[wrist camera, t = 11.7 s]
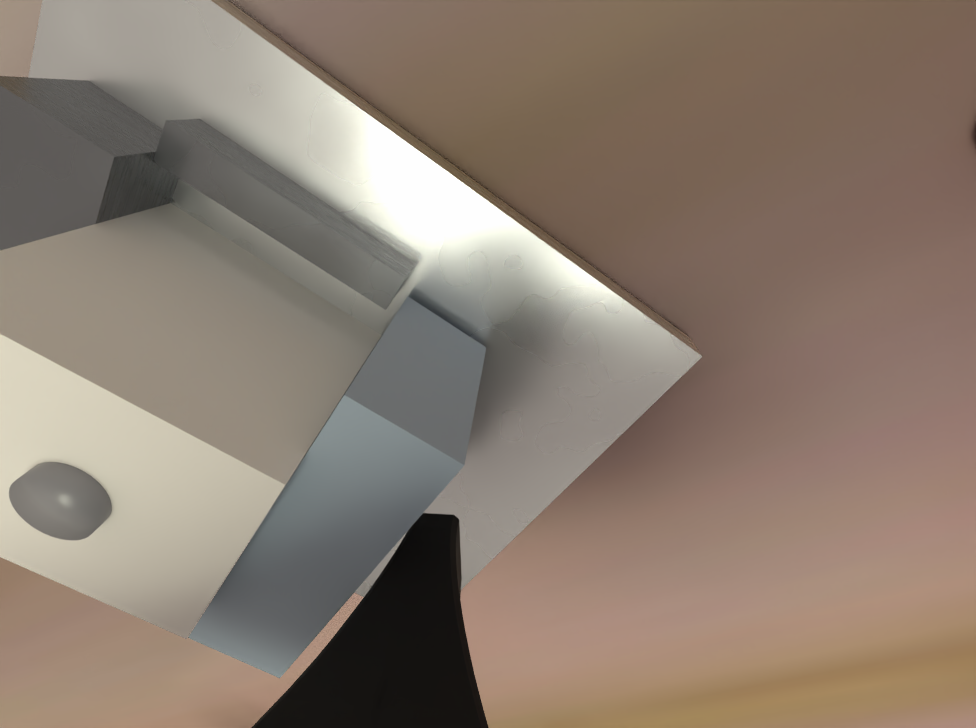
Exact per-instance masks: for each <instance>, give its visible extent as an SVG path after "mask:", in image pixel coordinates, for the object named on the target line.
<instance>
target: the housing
mask: <svg viewBox="0 0 976 728" xmlns="http://www.w3.org/2000/svg"><path fill="white" fill-rule="evenodd" d="M381 336H382V335H381V334H379V333H378V332H376V331H374V330H373V329H371V328H370V327H368V326H366V325H365V324H363V323H362V322H360V321H358V320H357V319H355V318H354V317H352V316H350V315H349V314H347V313H346V312H344V311H342V310H341V309H339V308H338V307H336V306H334V305H333V304H331V303H330V302H328V301H326V300H325V299H323V298H322V297H320V296H318V295H317V294H315V293H314V292H312V291H310V290H309V289H307V288H306V287H304V286H302V285H301V284H299V283H298V282H296V281H294V280H293V279H291V278H290V277H288V276H286V275H285V274H283V273H282V272H280V271H278V270H277V269H275V268H274V267H272V266H270V265H269V264H267V263H266V262H264V261H262V260H261V259H259V258H258V257H256V256H254V255H253V254H251V253H250V252H248V251H246V250H245V249H243V248H242V247H240V246H238V245H237V244H235V243H234V242H232V241H230V240H229V239H227V238H226V237H224V236H222V235H221V234H219V233H218V232H216V231H214V230H213V229H211V228H210V227H208V226H206V225H205V224H203V223H202V222H200V221H198V220H197V219H195V218H194V217H192V216H190V215H189V214H187V213H186V212H184V211H182V210H181V209H179V208H178V207H176V206H174V205H173V204H171V203H169V204H166V205H162V206H158V207H155V208H151V209H148V210H144V211H141V212H137V213H133V214H130V215H126V216H123V217H119V218H115V219H112V220H108V221H105V222H101V223H97V224H94V225H90V226H87V227H83V228H79V229H76V230H72V231H69V232H65V233H62V234H58V235H54V236H51V237H47V238H44V239H40V240H36V241H33V242H29V243H26V244H22V245H18V246H15V247H11V248H8V249H4V250H1V251H0V557H2V558H4V559H6V560H8V561H11V562H13V563H15V564H17V565H20V566H22V567H24V568H26V569H29V570H31V571H33V572H36V573H38V574H40V575H42V576H45V577H47V578H49V579H51V580H54V581H56V582H58V583H60V584H63V585H65V586H67V587H70V588H72V589H74V590H76V591H79V592H81V593H83V594H85V595H88V596H90V597H92V598H94V599H97V600H99V601H101V602H104V603H106V604H108V605H110V606H113V607H115V608H117V609H119V610H122V611H124V612H126V613H128V614H131V615H133V616H135V617H138V618H140V619H142V620H144V621H147V622H149V623H151V624H153V625H156V626H158V627H160V628H162V629H165V630H167V631H169V632H172V633H174V634H176V635H178V636H181V637H183V638H185V639H187V637H188V636H189V634H190V632H191V631H192V629H193V628H194V626H195V625H196V623H197V622H198V620H199V618H200V617H201V615H202V614H203V612H204V611H205V609H206V608H207V606H208V605H209V603H210V601H211V600H212V598H213V597H214V595H215V594H216V592H217V591H218V589H219V587H220V586H221V584H222V583H223V581H224V580H225V578H226V577H227V575H228V573H229V572H230V570H231V569H232V567H233V566H234V564H235V563H236V561H237V559H238V558H239V556H240V555H241V553H242V552H243V550H244V549H245V547H246V546H247V544H248V542H249V541H250V539H251V538H252V536H253V535H254V533H255V532H256V530H257V528H258V527H259V525H260V524H261V522H262V521H263V519H264V518H265V516H266V514H267V513H268V511H269V510H270V508H271V507H272V505H273V504H274V502H275V501H276V499H277V497H278V496H279V494H280V493H281V491H282V490H283V488H284V487H285V485H286V483H287V482H288V480H289V479H290V477H291V476H292V474H293V473H294V471H295V469H296V468H297V466H298V465H299V463H300V462H301V460H302V459H303V457H304V455H305V454H306V452H307V451H308V449H309V448H310V446H311V445H312V443H313V441H314V440H315V438H316V437H317V435H318V434H319V432H320V431H321V429H322V428H323V426H324V424H325V423H326V421H327V420H328V418H329V417H330V415H331V414H332V412H333V410H334V409H335V407H336V406H337V404H338V403H339V401H340V400H341V398H342V396H343V395H344V393H345V392H346V390H347V389H348V387H349V386H350V384H351V382H352V381H353V379H354V378H355V376H356V375H357V373H358V372H359V370H360V368H361V367H362V365H363V364H364V362H365V361H366V359H367V358H368V356H369V354H370V353H371V351H372V350H373V348H374V347H375V345H376V344H377V342H378V340H379V339H380V337H381Z"/></svg>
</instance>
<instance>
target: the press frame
mask: <svg viewBox="0 0 976 728" xmlns="http://www.w3.org/2000/svg"><path fill="white" fill-rule="evenodd" d="M169 203H171V204H173V205H174V206H176V207H178V208H179V209H181V210H182V211H184V212H186V213H187V214H189V215H190V216H192V217H194V218H195V219H197V220H198V221H200V222H202V223H203V224H205V225H206V226H208V227H210V228H211V229H213V230H214V231H216V232H218V233H219V234H221V235H222V236H224V237H226V238H227V239H229V240H230V241H232V242H234V243H235V244H237V245H238V246H240V247H242V248H243V249H245V250H246V251H248V252H250V253H251V254H253V255H254V256H256V257H258V258H259V259H261V260H262V261H264V262H266V263H267V264H269V265H270V266H272V267H274V268H275V269H277V270H278V271H280V272H282V273H283V274H285V275H286V276H288V277H290V278H291V279H293V280H294V281H296V282H298V283H299V284H301V285H302V286H304V287H306V288H307V289H309V290H310V291H312V292H314V293H315V294H317V295H318V296H320V297H322V298H323V299H325V300H326V301H328V302H330V303H331V304H333V305H334V306H336V307H338V308H339V309H341V310H342V311H344V312H346V313H347V314H349V315H350V316H352V317H354V318H355V319H357V320H358V321H360V322H362V323H363V324H365V325H366V326H368V327H370V328H371V329H373V330H374V331H376V332H378V333H379V334H381V335H383V334H384V332H385V331H386V329H387V327H388V326H389V324H390V323H391V321H392V320H393V318H394V317H395V315H396V314H397V312H398V310H399V309H400V307H401V306H402V304H403V303H404V301H405V300H406V298H407V296H408V297H410V298H411V299H413V300H414V301H416V302H417V303H419V304H420V305H422V306H423V307H425V308H426V309H428V310H430V311H431V312H433V313H434V314H436V315H437V316H439V317H440V318H442V319H443V320H445V321H446V322H448V323H450V324H451V325H453V326H454V327H456V328H457V329H459V330H460V331H462V332H463V333H465V334H466V335H468V336H469V337H471V338H473V339H474V340H476V341H477V342H479V343H480V344H482V345H483V346H485V347H486V352H485V357H484V363H483V368H482V374H481V379H480V384H479V390H478V395H477V400H476V406H475V411H474V416H473V422H472V427H471V433H470V438H469V443H468V449H467V454H466V459H465V465H464V466H463V467H462V469H461V470H460V471H459V472H458V473H457V474H456V476H455V477H454V478H453V479H452V480H451V481H450V482H449V484H448V485H447V486H446V487H445V488H444V489H443V491H442V492H441V493H440V494H439V495H438V496H437V497H436V499H435V500H434V501H433V502H432V503H431V504H430V506H429V507H428V508H427V509H426V510H425V511H424V512H423V513H432V514H451V515H455V516H456V517H457V518H458V519H459V526H460V550H461V575H462V580H461V589H462V588H463V587H464V586H465V585H466V584H467V583H469V582H470V581H471V580H472V579H473V578H474V577H475V576H476V575H477V574H478V573H479V572H480V571H481V570H482V569H483V568H484V567H485V566H486V565H487V564H488V563H489V562H490V561H491V560H492V559H493V558H494V557H495V556H496V555H498V554H499V553H500V552H501V551H502V550H503V549H504V548H505V547H506V546H507V545H508V544H509V543H510V542H511V541H512V540H513V539H514V538H515V537H516V536H517V535H518V534H519V533H520V532H521V531H522V530H523V529H524V528H525V527H526V526H528V525H529V524H530V523H531V522H532V521H533V520H534V519H535V518H536V517H537V516H538V515H539V514H540V513H541V512H542V511H543V510H544V509H545V508H546V507H547V506H548V505H549V504H550V503H551V502H552V501H553V500H554V499H555V498H557V497H558V496H559V495H560V494H561V493H562V492H563V491H564V490H565V489H566V488H567V487H568V486H569V485H570V484H571V483H572V482H573V481H574V480H575V479H576V478H577V477H578V476H579V475H580V474H581V473H582V472H583V471H584V470H586V469H587V468H588V467H589V466H590V465H591V464H592V463H593V462H594V461H595V460H596V459H597V458H598V457H599V456H600V455H601V454H602V453H603V452H604V451H605V450H606V449H607V448H608V447H609V446H610V445H611V444H612V443H613V442H614V441H616V440H617V439H618V438H619V437H620V436H621V435H622V434H623V433H624V432H625V431H626V430H627V429H628V428H629V427H630V426H631V425H632V424H633V423H634V422H635V421H636V420H637V419H638V418H639V417H640V416H641V415H642V414H643V413H645V412H646V411H647V410H648V409H649V408H650V407H651V406H652V405H653V404H654V403H655V402H656V401H657V400H658V399H659V398H660V397H661V396H662V395H663V394H664V393H665V392H666V391H667V390H668V389H669V388H670V387H671V386H672V385H674V384H675V383H676V382H677V381H678V380H679V379H680V378H681V377H682V376H683V375H684V374H685V373H686V372H687V371H688V370H689V369H690V368H691V367H692V366H693V365H694V364H695V363H696V362H697V361H698V360H699V359H700V358H701V357H702V355H701V354H700V352H699V351H698V349H697V348H696V346H695V345H694V343H693V342H692V340H691V339H690V337H688V336H687V335H686V334H684V333H683V332H681V331H680V330H679V329H677V328H676V327H675V326H673V325H672V324H671V323H669V322H668V321H666V320H665V319H664V318H662V317H661V316H660V315H658V314H657V313H655V312H654V311H653V310H651V309H650V308H649V307H647V306H646V305H644V304H643V303H642V302H640V301H639V300H638V299H636V298H635V297H634V296H632V295H631V294H629V293H628V292H627V291H625V290H624V289H623V288H621V287H620V286H618V285H617V284H616V283H614V282H613V281H612V280H610V279H609V278H608V277H606V276H605V275H603V274H602V273H601V272H599V271H598V270H597V269H595V268H594V267H592V266H591V265H590V264H588V263H587V262H586V261H584V260H583V259H581V258H580V257H579V256H577V255H576V254H575V253H573V252H572V251H571V250H569V249H568V248H566V247H565V246H564V245H562V244H561V243H560V242H558V241H557V240H555V239H554V238H553V237H551V236H550V235H549V234H547V233H546V232H544V231H543V230H542V229H540V228H539V227H538V226H536V225H535V224H534V223H532V222H531V221H529V220H528V219H527V218H525V217H524V216H523V215H521V214H520V213H518V212H517V211H516V210H514V209H513V208H512V207H510V206H509V205H507V204H506V203H505V202H503V201H502V200H501V199H499V198H498V197H497V196H495V195H494V194H492V193H491V192H490V191H488V190H487V189H486V188H484V187H483V186H481V185H480V184H479V183H477V182H476V181H475V180H473V179H472V178H471V177H469V176H468V175H466V174H465V173H464V172H462V171H461V170H460V169H458V168H457V167H455V166H454V165H453V164H451V163H450V162H449V161H447V160H446V159H444V158H443V157H442V156H440V155H439V154H438V153H436V152H435V151H434V150H432V149H431V148H429V147H428V146H427V145H425V144H424V143H423V142H421V141H420V140H418V139H417V138H416V137H414V136H413V135H412V134H410V133H409V132H407V131H406V130H405V129H403V128H402V127H401V126H399V125H398V124H397V123H395V122H394V121H392V120H391V119H390V118H388V117H387V116H386V115H384V114H383V113H381V112H380V111H379V110H377V109H376V108H375V107H373V106H372V105H370V104H369V103H368V102H366V101H365V100H364V99H362V98H361V97H360V96H358V95H357V94H355V93H354V92H353V91H351V90H350V89H349V88H347V87H346V86H344V85H343V84H342V83H340V82H339V81H338V80H336V79H335V78H334V77H332V76H331V75H329V74H328V73H327V72H325V71H324V70H323V69H321V68H320V67H318V66H317V65H316V64H314V63H313V62H312V61H310V60H309V59H307V58H306V57H305V56H303V55H302V54H301V53H299V52H298V51H297V50H295V49H294V48H292V47H291V46H290V45H288V44H287V43H286V42H284V41H283V40H281V39H280V38H279V37H277V36H276V35H275V34H273V33H272V32H270V31H269V30H268V29H266V28H265V27H264V26H262V25H261V24H260V23H258V22H257V21H255V20H254V19H253V18H251V17H250V16H249V15H247V14H246V13H244V12H243V11H242V10H240V9H239V8H238V7H236V6H235V5H233V4H232V3H231V2H229V1H228V0H43V1H42V6H41V12H40V17H39V22H38V28H37V33H36V39H35V44H34V49H33V55H32V60H31V66H30V71H29V77H28V78H26V77H6V76H0V251H1V250H4V249H8V248H11V247H15V246H18V245H22V244H26V243H29V242H33V241H36V240H40V239H44V238H47V237H51V236H54V235H58V234H62V233H65V232H69V231H72V230H76V229H79V228H83V227H87V226H90V225H94V224H97V223H101V222H105V221H108V220H112V219H115V218H119V217H123V216H126V215H130V214H133V213H137V212H141V211H144V210H148V209H151V208H155V207H158V206H162V205H166V204H169ZM381 337H382V336H381ZM381 337H380V338H381ZM379 340H380V339H379ZM379 340H378V341H379ZM377 343H378V342H377ZM376 345H377V344H376ZM376 345H375V346H376ZM374 348H375V347H374ZM374 348H373V349H374ZM372 351H373V350H372ZM372 351H371V352H372ZM370 354H371V353H370ZM370 354H369V355H370ZM368 357H369V356H368ZM367 359H368V358H367ZM367 359H366V360H367ZM365 362H366V361H365ZM365 362H364V363H365ZM363 365H364V364H363ZM363 365H362V366H363ZM361 368H362V367H361ZM361 368H360V369H361ZM359 371H360V370H359ZM358 373H359V372H358ZM358 373H357V374H358ZM356 376H357V375H356ZM356 376H355V377H356ZM354 379H355V378H354ZM354 379H353V380H354ZM352 382H353V381H352ZM352 382H351V383H352ZM350 385H351V384H350ZM348 388H349V387H348ZM347 390H348V389H347ZM347 390H346V391H347ZM345 393H346V392H345ZM345 393H344V394H345ZM343 396H344V395H343ZM343 396H342V397H343ZM341 399H342V398H341ZM339 402H340V401H339ZM338 404H339V403H338ZM338 404H337V405H338ZM336 407H337V406H336ZM336 407H335V408H336ZM334 410H335V409H334ZM334 410H333V411H334ZM332 413H333V412H332ZM330 416H331V415H330ZM329 418H330V417H329ZM329 418H328V419H329ZM327 421H328V420H327ZM327 421H326V422H327ZM325 424H326V423H325ZM325 424H324V425H325ZM323 427H324V426H323ZM321 430H322V429H321ZM320 432H321V431H320ZM320 432H319V433H320ZM318 435H319V434H318ZM318 435H317V436H318ZM316 438H317V437H316ZM316 438H315V439H316ZM314 441H315V440H314ZM314 441H313V442H314ZM312 444H313V443H312ZM310 447H311V446H310ZM309 449H310V448H309ZM309 449H308V450H309ZM307 452H308V451H307ZM307 452H306V453H307ZM305 455H306V454H305ZM305 455H304V456H305ZM303 458H304V457H303ZM301 461H302V460H301ZM300 463H301V462H300ZM300 463H299V464H300ZM298 466H299V465H298ZM298 466H297V467H298ZM296 469H297V468H296ZM296 469H295V470H296ZM294 472H295V471H294ZM292 475H293V474H292ZM291 477H292V476H291ZM291 477H290V478H291ZM289 480H290V479H289ZM289 480H288V481H289ZM287 483H288V482H287ZM287 483H286V484H287ZM285 486H286V485H285ZM283 489H284V488H283ZM281 492H282V491H281ZM280 494H281V493H280ZM280 494H279V495H280ZM278 497H279V496H278ZM278 497H277V498H278ZM276 500H277V499H276ZM274 503H275V502H274ZM272 506H273V505H272ZM271 508H272V507H271ZM271 508H270V509H271ZM269 511H270V510H269ZM269 511H268V512H269ZM267 514H268V513H267ZM267 514H266V515H267ZM265 517H266V516H265ZM263 520H264V519H263ZM262 522H263V521H262ZM262 522H261V523H262ZM260 525H261V524H260ZM260 525H259V526H260ZM258 528H259V527H258ZM258 528H257V529H258ZM256 531H257V530H256ZM406 533H407V532H406ZM406 533H405V534H404V536H403V537H402V538H401V539H400V540H399V541H398V542H397V544H396V545H395V546H394V547H393V548H392V549H391V551H390V552H389V553H388V554H387V555H386V556H385V557H384V559H383V560H382V561H381V562H380V563H379V564H378V566H377V567H376V568H375V569H374V570H373V571H372V572H371V574H370V575H369V576H368V577H367V578H366V579H365V581H364V582H363V583H362V584H361V585H360V586H359V587H358V589H357V590H356V591H355V593H357V594H359V595H361V596H363V597H365V595H366V594H367V592H368V591H369V590H370V588H371V587H372V585H373V584H374V582H375V581H376V580H377V578H378V577H379V575H380V574H381V572H382V571H383V570H384V568H385V567H386V565H387V564H388V562H389V560H390V559H391V557H392V556H393V554H394V553H395V551H396V550H397V548H398V546H399V545H400V543H401V542H402V540H403V538H404V537H405V535H406ZM254 534H255V533H254ZM253 536H254V535H253ZM253 536H252V537H253ZM251 539H252V538H251ZM251 539H250V540H251Z"/></svg>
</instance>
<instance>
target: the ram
mask: <svg viewBox="0 0 976 728" xmlns="http://www.w3.org/2000/svg"><path fill="white" fill-rule="evenodd" d="M485 352H486V347H485V346H483V345H482V344H480V343H479V342H477V341H476V340H474V339H473V338H471V337H469V336H468V335H466V334H465V333H463V332H462V331H460V330H459V329H457V328H456V327H454V326H453V325H451V324H450V323H448V322H446V321H445V320H443V319H442V318H440V317H439V316H437V315H436V314H434V313H433V312H431V311H430V310H428V309H426V308H425V307H423V306H422V305H420V304H419V303H417V302H416V301H414V300H413V299H411V298H410V297H408V296H407V298H406V300H405V301H404V303H403V304H402V306H401V307H400V309H399V310H398V312H397V314H396V315H395V317H394V318H393V320H392V321H391V323H390V324H389V326H388V327H387V329H386V331H385V332H384V334H383V335H382V337H381V338H380V340H379V341H378V343H377V345H376V346H375V348H374V349H373V351H372V352H371V354H370V355H369V357H368V359H367V360H366V362H365V363H364V365H363V366H362V368H361V369H360V371H359V373H358V374H357V376H356V377H355V379H354V380H353V382H352V383H351V385H350V386H349V388H348V390H347V391H346V393H345V394H344V396H343V397H342V399H341V400H340V402H339V404H338V405H337V407H336V408H335V410H334V411H333V413H332V414H331V416H330V418H329V419H328V421H327V422H326V424H325V425H324V427H323V428H322V430H321V432H320V433H319V435H318V436H317V438H316V439H315V441H314V442H313V444H312V445H311V447H310V449H309V450H308V452H307V453H306V455H305V456H304V458H303V459H302V461H301V463H300V464H299V466H298V467H297V469H296V470H295V472H294V473H293V475H292V477H291V478H290V480H289V481H288V483H287V484H286V486H285V487H284V489H283V490H282V492H281V494H280V495H279V497H278V498H277V500H276V501H275V503H274V504H273V506H272V508H271V509H270V511H269V512H268V514H267V515H266V517H265V518H264V520H263V522H262V523H261V525H260V526H259V528H258V529H257V531H256V532H255V534H254V536H253V537H252V539H251V540H250V542H249V543H248V545H247V546H246V548H245V550H244V551H243V553H242V554H241V556H240V557H239V559H238V560H237V562H236V564H235V565H234V567H233V568H232V570H231V571H230V573H229V574H228V576H227V578H226V579H225V581H224V582H223V584H222V585H221V587H220V588H219V590H218V592H217V593H216V595H215V596H214V598H213V599H212V601H211V602H210V604H209V606H208V607H207V609H206V610H205V612H204V613H203V615H202V617H201V618H200V620H199V621H198V623H197V624H196V626H195V627H194V629H193V631H192V632H191V634H190V635H189V637H188V638H190V639H192V640H194V641H197V642H199V643H201V644H203V645H206V646H208V647H210V648H213V649H215V650H217V651H219V652H222V653H224V654H226V655H228V656H231V657H233V658H235V659H237V660H240V661H242V662H244V663H246V664H249V665H251V666H253V667H256V668H258V669H260V670H262V671H265V672H267V673H269V674H271V675H274V676H276V677H278V678H280V677H281V676H282V675H283V674H284V673H285V672H286V671H287V669H288V668H289V667H290V666H291V665H292V664H293V662H294V661H295V660H296V659H297V658H298V657H299V656H300V654H301V653H302V652H303V651H304V650H305V649H306V647H307V646H308V645H309V644H310V643H311V642H312V641H313V639H314V638H315V637H316V636H317V635H318V634H319V632H320V631H321V630H322V629H323V628H324V627H325V626H326V624H327V623H328V622H329V621H330V620H331V619H332V617H333V616H334V615H335V614H336V613H337V612H338V611H339V609H340V608H341V607H342V606H343V605H344V604H345V602H346V601H347V600H348V599H349V598H350V597H351V596H352V594H353V593H354V592H355V591H356V590H357V589H358V587H359V586H360V585H361V584H362V583H363V582H364V581H365V579H366V578H367V577H368V576H369V575H370V574H371V572H372V571H373V570H374V569H375V568H376V567H377V566H378V564H379V563H380V562H381V561H382V560H383V559H384V557H385V556H386V555H387V554H388V553H389V552H390V551H391V549H392V548H393V547H394V546H395V545H396V544H397V542H398V541H399V540H400V539H401V538H402V537H403V536H404V534H405V533H406V532H407V531H408V530H409V529H410V527H411V526H412V525H413V524H414V523H415V522H416V521H417V519H418V518H419V517H420V516H421V515H422V514H423V512H424V511H425V510H426V509H427V508H428V507H429V506H430V504H431V503H432V502H433V501H434V500H435V499H436V497H437V496H438V495H439V494H440V493H441V492H442V491H443V489H444V488H445V487H446V486H447V485H448V484H449V482H450V481H451V480H452V479H453V478H454V477H455V476H456V474H457V473H458V472H459V471H460V470H461V469H462V467H463V466H464V465H465V459H466V454H467V449H468V443H469V438H470V433H471V427H472V422H473V416H474V411H475V406H476V400H477V395H478V390H479V384H480V379H481V374H482V368H483V363H484V357H485Z"/></svg>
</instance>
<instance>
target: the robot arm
mask: <svg viewBox="0 0 976 728" xmlns="http://www.w3.org/2000/svg"><path fill="white" fill-rule="evenodd" d="M461 580H462V575H461V550H460V526H459V519H458V518H457V517H456V516H455V515H451V514H432V513H423V514H422V515H421V516H420V517H419V518H418V519H417V521H416V522H415V523H414V524H413V525H412V526H411V527H410V529H409V530H408V531H407V533H406V535H405V537H404V538H403V540H402V542H401V543H400V545H399V546H398V548H397V550H396V551H395V553H394V554H393V556H392V557H391V559H390V560H389V562H388V564H387V565H386V567H385V568H384V570H383V571H382V572H381V574H380V575H379V577H378V578H377V580H376V581H375V582H374V584H373V585H372V587H371V588H370V590H369V591H368V592H367V594H366V595H365V597H364V598H363V599H362V601H361V602H360V604H359V605H358V606H357V607H356V609H355V610H354V611H353V613H352V614H351V615H350V616H349V618H348V619H347V620H346V622H345V623H344V624H343V625H342V627H341V628H340V629H339V631H338V632H337V633H336V634H335V636H334V637H333V638H332V640H331V641H330V642H329V643H328V644H327V646H326V647H325V648H324V649H323V650H322V652H321V653H320V654H319V655H318V656H317V657H316V659H315V660H314V661H313V662H312V663H311V664H310V666H309V667H308V668H307V669H306V670H305V671H304V672H303V673H302V675H301V676H300V677H299V678H298V679H297V680H296V681H295V682H294V684H293V685H292V686H291V687H290V688H289V689H288V690H287V691H286V692H285V693H284V694H283V695H282V696H281V697H280V699H279V700H278V701H277V702H276V703H275V704H274V705H273V706H272V707H271V708H270V709H269V710H268V711H267V712H266V713H265V714H264V715H263V716H262V717H261V718H260V719H259V720H258V721H257V723H256V724H255V725H254V726H253V727H252V728H488V725H487V721H486V717H485V714H484V710H483V707H482V703H481V699H480V695H479V691H478V687H477V683H476V679H475V675H474V671H473V666H472V662H471V657H470V653H469V648H468V643H467V638H466V633H465V628H464V622H463V616H462V610H461V602H460V593H461Z"/></svg>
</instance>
